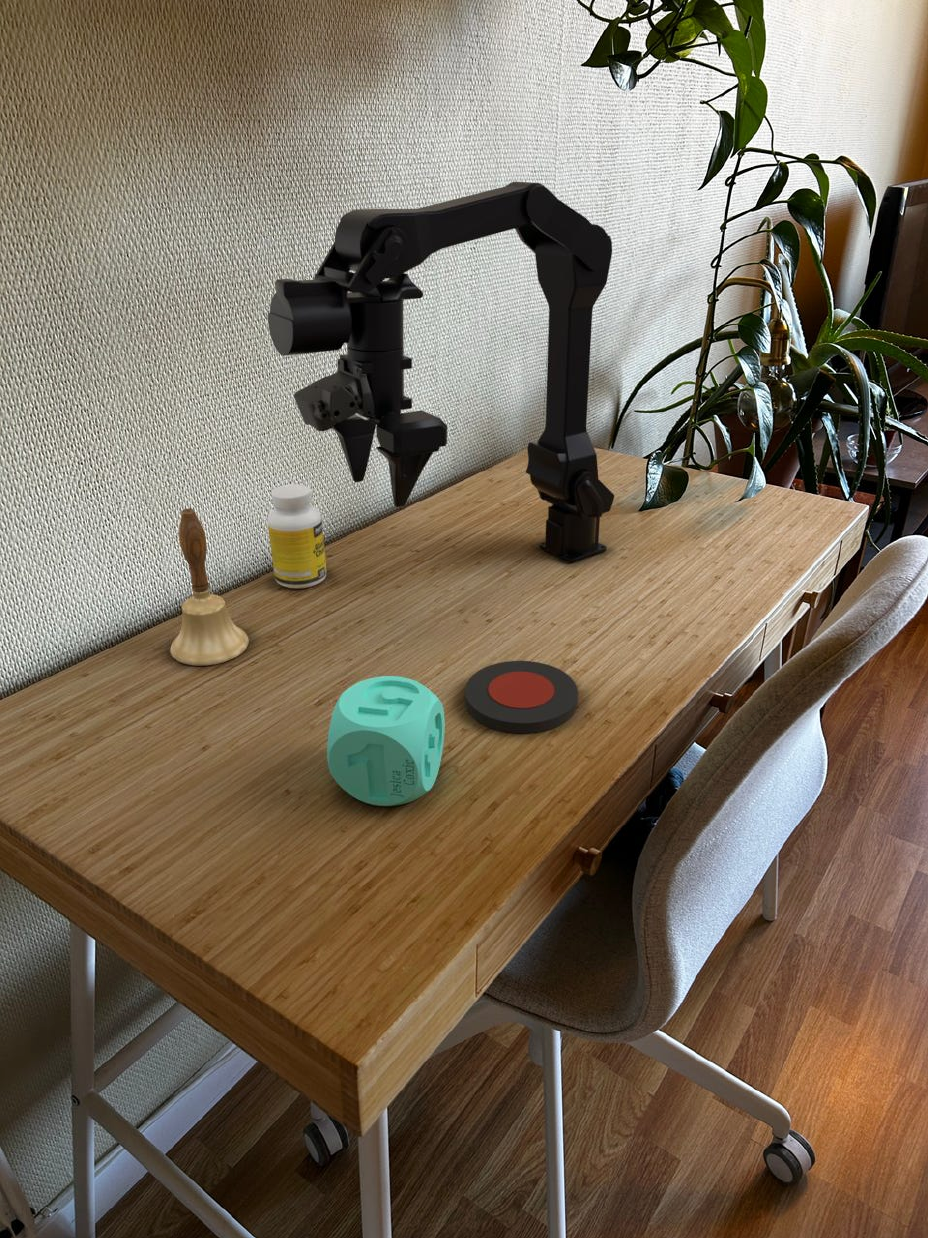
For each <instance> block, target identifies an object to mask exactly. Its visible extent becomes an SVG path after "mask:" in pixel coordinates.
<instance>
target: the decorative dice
mask: <svg viewBox="0 0 928 1238" xmlns="http://www.w3.org/2000/svg"><path fill="white" fill-rule="evenodd" d="M445 725H446V724H445V709H444V705H443V703H442V701H440V699H439V697H437V695H436V694H435V693H434V692H433V691H432V690H431V689H430V688H428V687H426V685H423V684H422V683H421V682H419V681H417V680H415V679H412V678H408V677H404V676H398V675H397V676H395V675H382V676H375V677H369V678H366V679H363V680H361V681H359V682H356V683H354V684H353V685H351V686H349V687H348V688H347V689H346V690H344V691H343V692H342V693H341V694H340V696H339V697H338V699H337V702H336V704H335V706H334V708H333V711H332V714H331V718H330V722H329V726H328V732H327V733H328V734H327V744H326V745H327V746H326V757H327V759H326V760H327V767H328V770H329V773H330V775H331V776H332V778H333V779H334V781H335V782H336V783H337V784H338V785H339V787H340V788H342V790H343V791H344V792H346V793H347V794H348V795H350V796H351V797H353V798H355V799H357V800H358V801H361V802H362V803H365V804H369V805H373V806H378V807H394V806H400V805H405V804H408V803H411V802H413V801H416V800H417V799H419V798H421V797H422V796H424V795H426V794H427V793H428V792H429V791H430V790H432V788H433V786H434V784H435V782H436V780H437V778H438V773H439V770H440V767H441V763H442V762H441V761H442V756H443V750H444V741H445V728H446V727H445Z"/></svg>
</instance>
